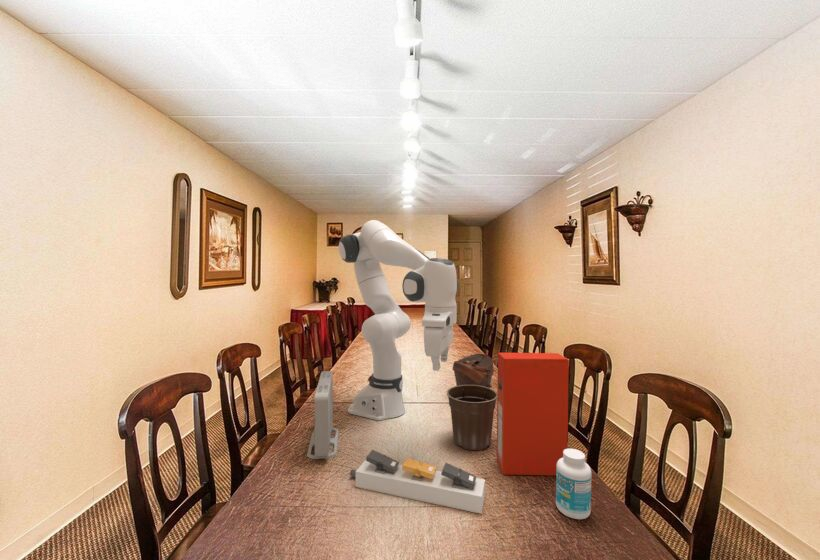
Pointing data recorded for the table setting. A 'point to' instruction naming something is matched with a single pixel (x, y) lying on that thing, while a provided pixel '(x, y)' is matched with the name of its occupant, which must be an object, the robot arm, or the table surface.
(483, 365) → the case
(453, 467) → the rocker right black
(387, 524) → the table surface
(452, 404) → the plant pot
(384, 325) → the robot arm
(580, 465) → the pill bottle
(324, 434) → the network device
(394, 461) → the rocker left black
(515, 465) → the file binder
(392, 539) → the table surface
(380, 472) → the power strip
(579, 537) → the table surface
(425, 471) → the rocker middle orange
